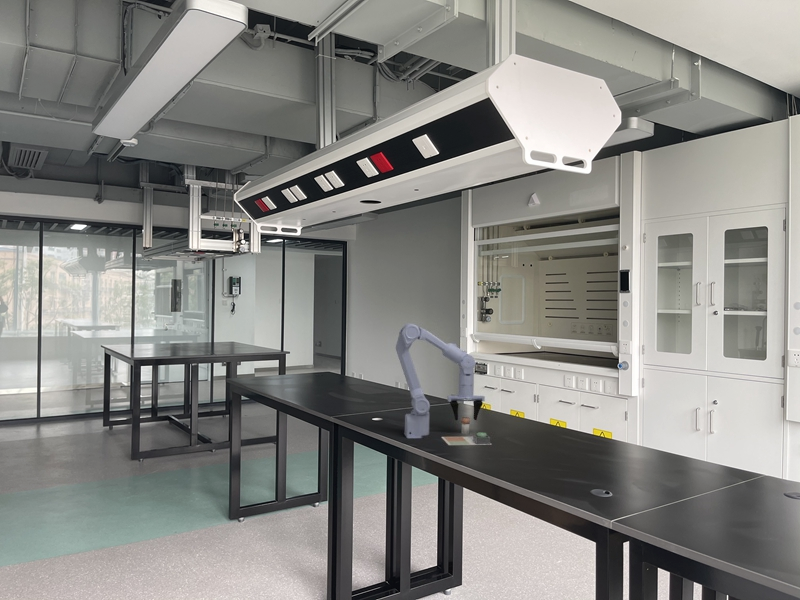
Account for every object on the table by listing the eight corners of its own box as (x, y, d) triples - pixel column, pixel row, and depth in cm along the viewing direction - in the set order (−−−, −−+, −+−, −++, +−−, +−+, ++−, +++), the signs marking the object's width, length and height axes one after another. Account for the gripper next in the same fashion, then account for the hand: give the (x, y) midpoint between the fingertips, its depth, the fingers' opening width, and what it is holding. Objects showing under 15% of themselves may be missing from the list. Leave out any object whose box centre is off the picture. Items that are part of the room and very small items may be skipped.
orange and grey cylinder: (462, 436, 223) (462, 418, 223) (460, 435, 227) (460, 417, 227) (470, 436, 224) (470, 418, 224) (468, 435, 227) (468, 417, 227)
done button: (478, 439, 208) (478, 434, 208) (475, 437, 212) (475, 432, 212) (487, 439, 209) (487, 434, 209) (484, 437, 212) (484, 432, 212)
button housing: (476, 444, 207) (476, 437, 207) (473, 441, 212) (473, 434, 212) (490, 444, 208) (490, 437, 208) (486, 440, 213) (486, 434, 213)
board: (448, 447, 205) (448, 444, 205) (440, 439, 218) (440, 436, 218) (491, 447, 208) (491, 444, 208) (481, 439, 220) (481, 436, 220)
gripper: (450, 386, 220) (450, 421, 220) (487, 386, 223) (486, 421, 222) (446, 384, 227) (445, 418, 227) (481, 383, 230) (481, 417, 229)
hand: (465, 419), depth 225 cm, fingers open, 7 cm apart
